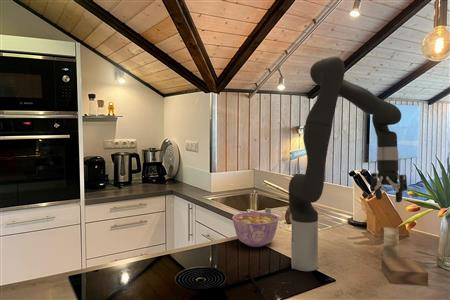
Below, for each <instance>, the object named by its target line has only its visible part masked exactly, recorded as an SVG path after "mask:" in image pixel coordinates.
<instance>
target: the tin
mask: <svg viewBox="0 0 450 300" xmlns="http://www.w3.org/2000/svg"><path fill="white" fill-rule="evenodd" d="M284 215H285V216H284V221H285V222H286V223H288V224H292V216H291V212H290V209H289V206H288V207H287V209H286V210H285V214H284Z"/></svg>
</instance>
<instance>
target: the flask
mask: <svg viewBox="0 0 450 300" xmlns="http://www.w3.org/2000/svg"><path fill="white" fill-rule="evenodd" d="M264 210H265V211H264V212H265V213H270V214H272V208H269V207H268V208H267V207H266V208H264Z"/></svg>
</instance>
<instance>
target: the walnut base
mask: <svg viewBox="0 0 450 300" xmlns="http://www.w3.org/2000/svg"><path fill="white" fill-rule="evenodd" d="M381 271H382V272H383V273H384V276H385V277H386V278H387V280H388V281H389V283H391V284H404V285H420V286H428V285H429V271H427V270H426V269H425V268H424V267H423V266H422V265H421V263H420V262H418V260H417V259H414V258H412V259H411V258H410V259H409V258H398V259H394V258H383V257H381Z"/></svg>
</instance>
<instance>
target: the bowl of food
mask: <svg viewBox="0 0 450 300" xmlns="http://www.w3.org/2000/svg"><path fill="white" fill-rule="evenodd" d="M231 218H232V222H233V227H234V229H235V234H236V237H237V239H238V240H239V241H240V242H241V243H243V244H245V245H247V246H248V247H253V248H260V247H263V246H265V245H268V244H269V243H270V242H272V241H273V239H274V238H275V236H276V232H277V227H278V223H279V219H280V218H279V216H278V215H276V214H274V213H271V214H270V213H265V211H246V212H244V211H243V212H240V213H237V214H234V215H233V216H232V217H231Z"/></svg>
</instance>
